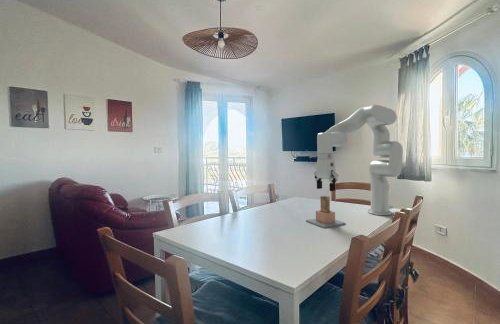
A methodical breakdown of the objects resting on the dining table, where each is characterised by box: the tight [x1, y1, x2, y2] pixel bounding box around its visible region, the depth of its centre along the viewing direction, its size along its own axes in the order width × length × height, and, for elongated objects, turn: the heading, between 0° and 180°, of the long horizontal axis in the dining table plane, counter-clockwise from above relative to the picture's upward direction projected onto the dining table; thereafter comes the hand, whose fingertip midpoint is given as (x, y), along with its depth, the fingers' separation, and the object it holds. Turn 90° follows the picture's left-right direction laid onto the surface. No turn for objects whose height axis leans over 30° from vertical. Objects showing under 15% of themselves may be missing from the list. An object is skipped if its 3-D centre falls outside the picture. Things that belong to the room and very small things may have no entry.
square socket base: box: [305, 209, 347, 229], centre depth 136 cm, size 14×14×6 cm
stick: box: [320, 195, 331, 213], centre depth 136 cm, size 3×3×12 cm
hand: (325, 189), depth 136 cm, fingers open, 9 cm apart
